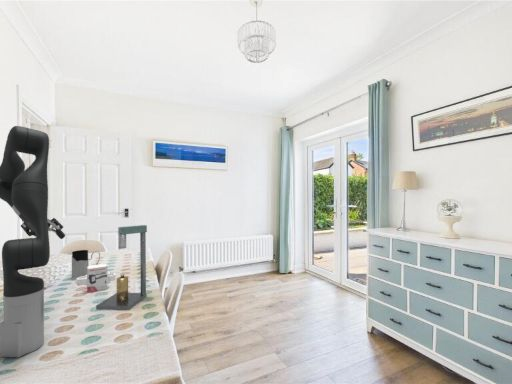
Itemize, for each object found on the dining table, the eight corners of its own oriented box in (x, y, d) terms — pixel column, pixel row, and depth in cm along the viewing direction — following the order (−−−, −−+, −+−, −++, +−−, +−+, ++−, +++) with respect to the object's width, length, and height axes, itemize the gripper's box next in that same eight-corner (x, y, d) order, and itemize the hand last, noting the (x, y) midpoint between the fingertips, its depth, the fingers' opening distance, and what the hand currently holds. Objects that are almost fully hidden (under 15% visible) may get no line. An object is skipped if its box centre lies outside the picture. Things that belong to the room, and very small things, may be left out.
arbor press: (131, 310, 104) (130, 229, 104) (96, 309, 105) (95, 229, 105) (149, 295, 119) (149, 225, 119) (118, 295, 120) (118, 225, 120)
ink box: (87, 293, 123) (87, 268, 123) (87, 290, 127) (87, 266, 127) (107, 289, 128) (107, 265, 128) (107, 286, 132) (107, 263, 132)
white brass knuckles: (117, 275, 151) (113, 283, 138) (81, 279, 145) (73, 288, 131) (117, 269, 151) (113, 277, 138) (81, 273, 145) (73, 281, 131)
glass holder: (69, 277, 147) (69, 251, 147) (98, 272, 156) (98, 247, 156) (71, 281, 140) (71, 253, 140) (101, 275, 149) (101, 249, 150)
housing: (124, 301, 109) (124, 277, 109) (114, 301, 109) (114, 276, 110) (130, 297, 114) (130, 273, 114) (120, 296, 114) (120, 273, 114)
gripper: (17, 205, 100) (44, 235, 99) (50, 204, 114) (74, 230, 113) (5, 219, 100) (32, 249, 99) (39, 216, 115) (63, 242, 113)
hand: (54, 239), depth 106 cm, fingers open, 8 cm apart
